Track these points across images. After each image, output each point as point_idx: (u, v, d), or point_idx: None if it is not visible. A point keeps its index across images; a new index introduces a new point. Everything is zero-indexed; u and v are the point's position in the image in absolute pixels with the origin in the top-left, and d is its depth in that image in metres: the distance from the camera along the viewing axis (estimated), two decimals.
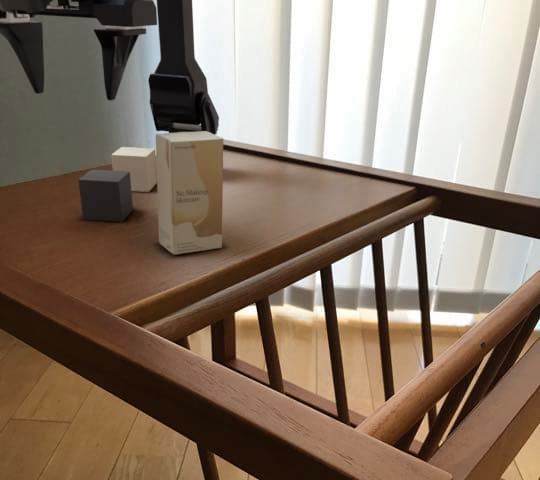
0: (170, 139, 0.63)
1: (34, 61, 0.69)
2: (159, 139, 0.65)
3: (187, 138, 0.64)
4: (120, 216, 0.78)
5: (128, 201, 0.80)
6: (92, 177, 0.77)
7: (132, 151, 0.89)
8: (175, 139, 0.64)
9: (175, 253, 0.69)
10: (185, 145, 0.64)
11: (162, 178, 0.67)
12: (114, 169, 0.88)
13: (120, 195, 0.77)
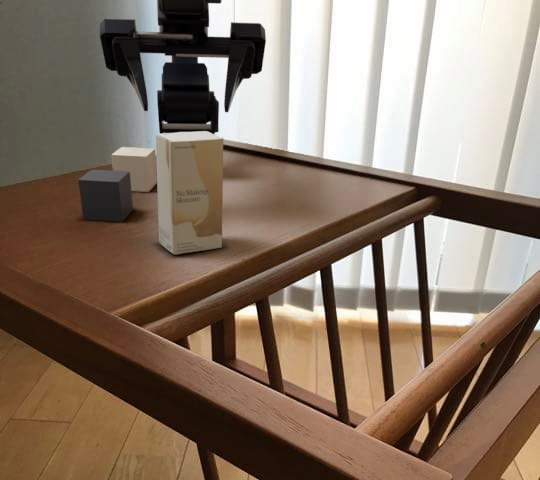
0: (170, 139, 0.63)
1: None
2: (159, 139, 0.65)
3: (187, 138, 0.64)
4: (120, 216, 0.78)
5: (128, 201, 0.80)
6: (92, 177, 0.77)
7: (132, 151, 0.89)
8: (175, 139, 0.64)
9: (175, 253, 0.69)
10: (185, 145, 0.64)
11: (162, 178, 0.67)
12: (114, 169, 0.88)
13: (120, 195, 0.77)
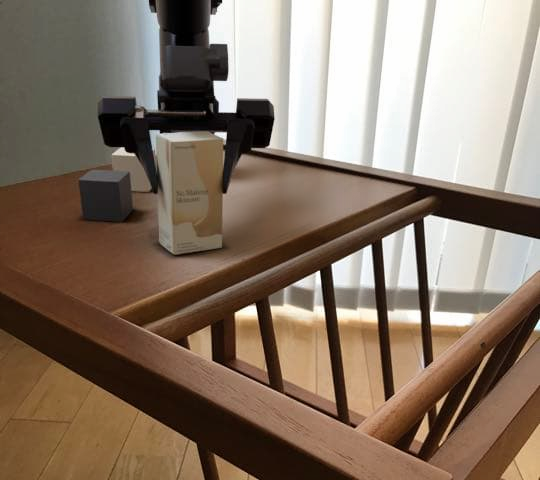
0: (170, 139, 0.63)
1: None
2: (159, 139, 0.65)
3: (187, 138, 0.64)
4: (120, 216, 0.78)
5: (128, 201, 0.80)
6: (92, 177, 0.77)
7: None
8: (175, 139, 0.64)
9: (175, 253, 0.69)
10: (184, 145, 0.64)
11: (162, 178, 0.67)
12: (114, 169, 0.88)
13: (120, 195, 0.77)
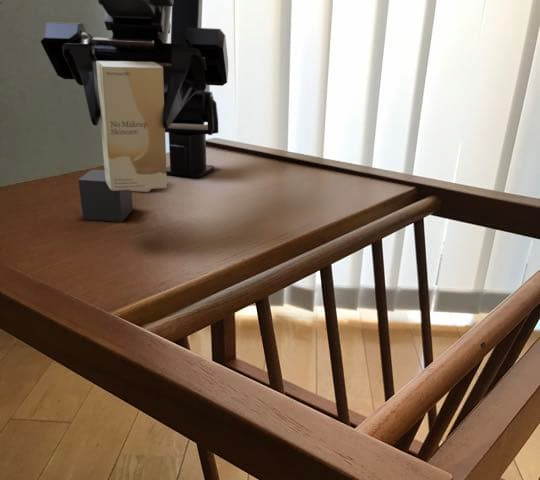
0: (103, 64, 0.61)
1: (97, 95, 0.65)
2: (97, 66, 0.62)
3: (123, 65, 0.61)
4: (120, 216, 0.78)
5: (128, 201, 0.80)
6: (92, 177, 0.77)
7: None
8: (109, 65, 0.61)
9: (113, 189, 0.66)
10: (117, 71, 0.61)
11: (101, 108, 0.64)
12: None
13: (120, 195, 0.77)
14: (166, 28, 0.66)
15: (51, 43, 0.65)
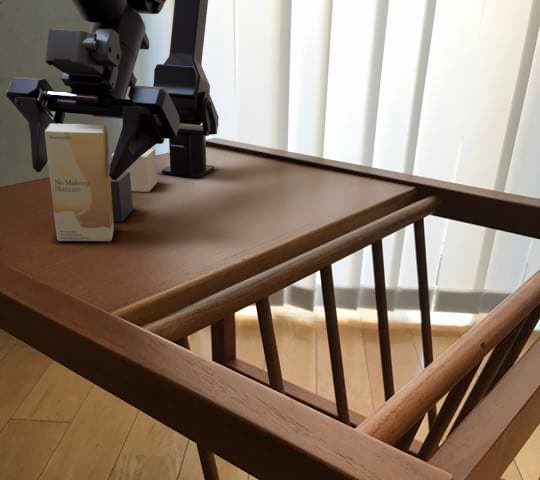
0: (48, 129, 0.66)
1: (44, 144, 0.70)
2: None
3: (67, 129, 0.66)
4: (120, 216, 0.78)
5: (128, 201, 0.80)
6: None
7: None
8: (53, 129, 0.66)
9: (59, 239, 0.71)
10: (59, 135, 0.65)
11: None
12: None
13: (120, 195, 0.77)
14: (122, 84, 0.70)
15: (18, 96, 0.71)
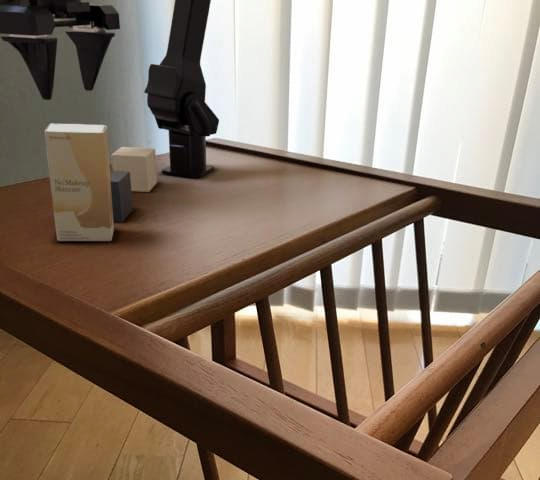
0: (48, 129, 0.66)
1: (86, 64, 0.83)
2: None
3: (67, 129, 0.66)
4: (120, 216, 0.78)
5: (128, 201, 0.80)
6: None
7: (132, 151, 0.89)
8: (53, 129, 0.66)
9: (59, 239, 0.71)
10: (59, 135, 0.65)
11: None
12: (114, 169, 0.88)
13: (120, 195, 0.77)
14: None
15: None
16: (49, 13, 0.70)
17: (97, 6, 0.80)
